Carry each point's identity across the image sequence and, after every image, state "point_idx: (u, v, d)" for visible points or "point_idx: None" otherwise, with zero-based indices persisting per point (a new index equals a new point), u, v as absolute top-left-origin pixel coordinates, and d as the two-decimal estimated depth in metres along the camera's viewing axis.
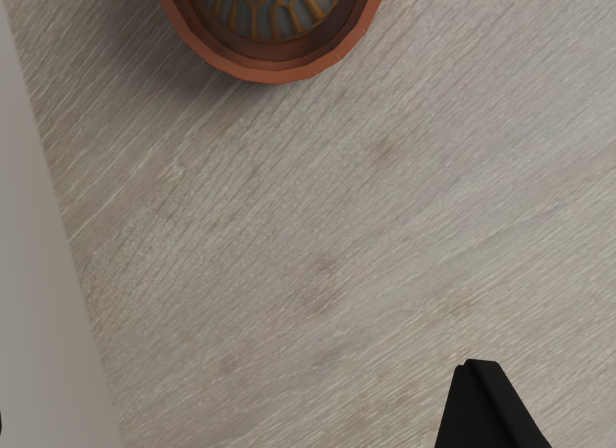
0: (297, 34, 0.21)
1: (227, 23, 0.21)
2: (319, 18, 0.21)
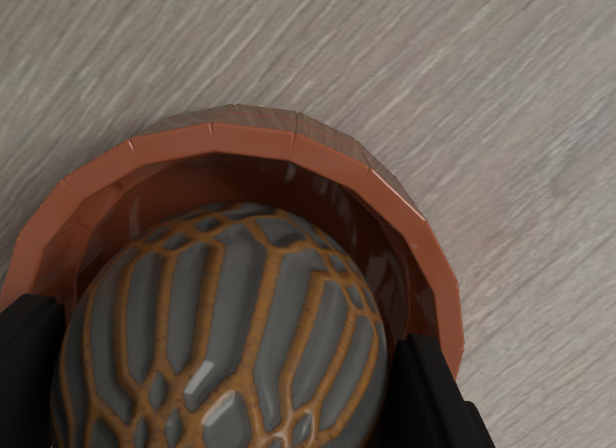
0: None
1: None
2: None
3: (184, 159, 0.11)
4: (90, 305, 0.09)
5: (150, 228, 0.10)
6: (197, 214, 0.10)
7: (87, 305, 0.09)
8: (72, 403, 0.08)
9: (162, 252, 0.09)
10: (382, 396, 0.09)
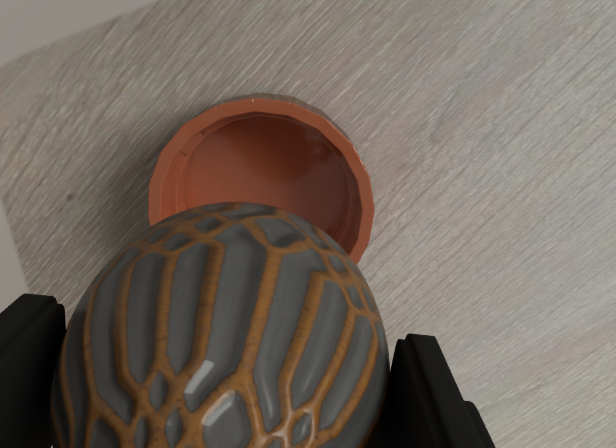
0: None
1: None
2: None
3: (236, 118, 0.23)
4: (90, 305, 0.09)
5: (150, 228, 0.10)
6: (197, 214, 0.10)
7: (87, 305, 0.09)
8: (73, 403, 0.08)
9: (162, 251, 0.09)
10: (382, 396, 0.09)
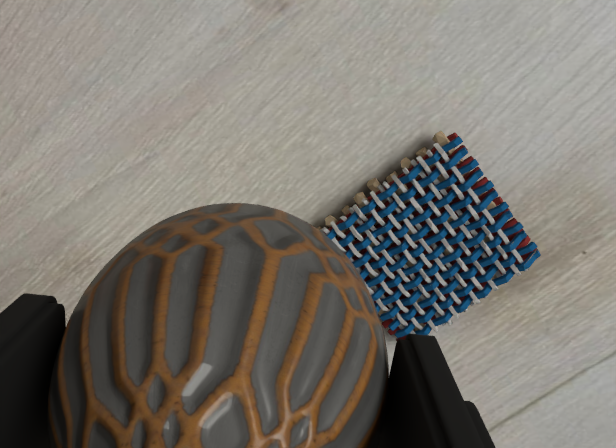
0: None
1: None
2: None
3: None
4: (88, 307, 0.09)
5: (149, 230, 0.10)
6: (195, 216, 0.10)
7: (85, 307, 0.09)
8: (70, 406, 0.08)
9: (160, 254, 0.09)
10: (380, 398, 0.09)
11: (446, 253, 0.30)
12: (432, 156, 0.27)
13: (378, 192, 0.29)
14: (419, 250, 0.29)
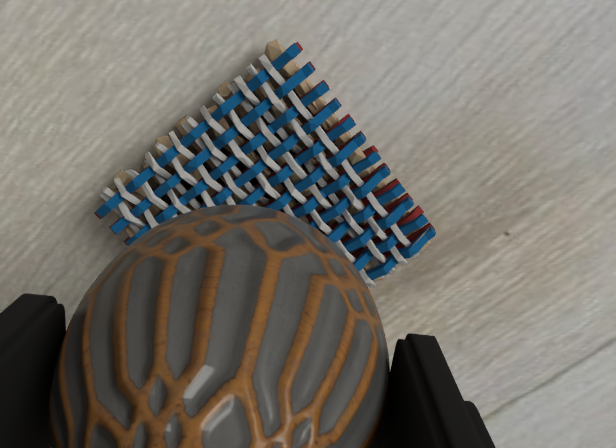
0: None
1: None
2: None
3: None
4: (90, 309, 0.09)
5: (150, 231, 0.10)
6: (197, 217, 0.10)
7: (87, 309, 0.09)
8: (71, 408, 0.08)
9: (162, 255, 0.09)
10: (381, 400, 0.09)
11: None
12: (256, 75, 0.17)
13: None
14: None
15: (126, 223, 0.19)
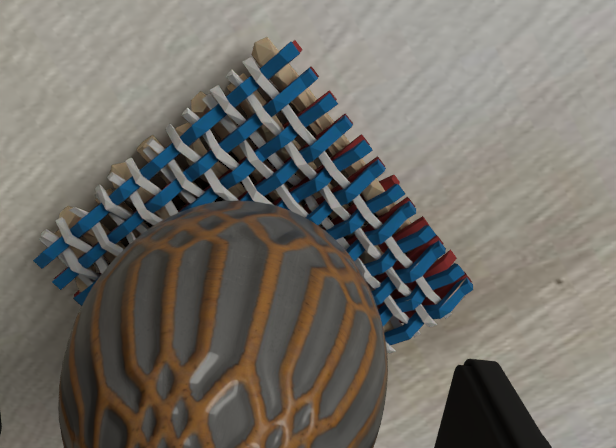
0: None
1: None
2: None
3: None
4: (98, 300, 0.09)
5: (155, 226, 0.11)
6: (200, 213, 0.10)
7: (95, 300, 0.09)
8: (82, 394, 0.08)
9: (167, 249, 0.09)
10: (379, 388, 0.09)
11: None
12: (240, 85, 0.13)
13: None
14: None
15: (73, 275, 0.15)
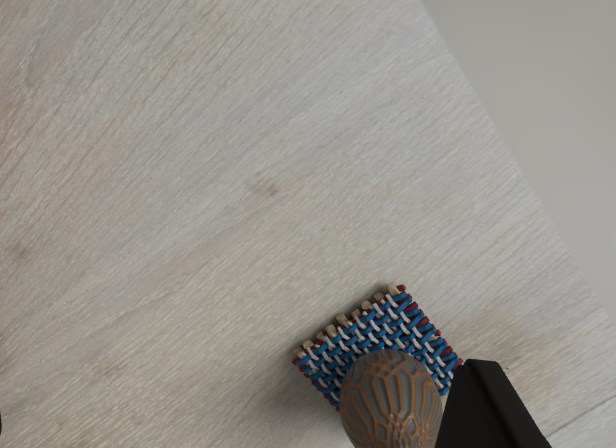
0: None
1: None
2: None
3: None
4: (362, 392, 0.32)
5: (367, 364, 0.33)
6: (383, 361, 0.33)
7: (361, 392, 0.32)
8: (365, 419, 0.31)
9: (381, 377, 0.32)
10: (441, 417, 0.32)
11: None
12: (384, 304, 0.36)
13: (344, 326, 0.37)
14: None
15: (311, 369, 0.37)
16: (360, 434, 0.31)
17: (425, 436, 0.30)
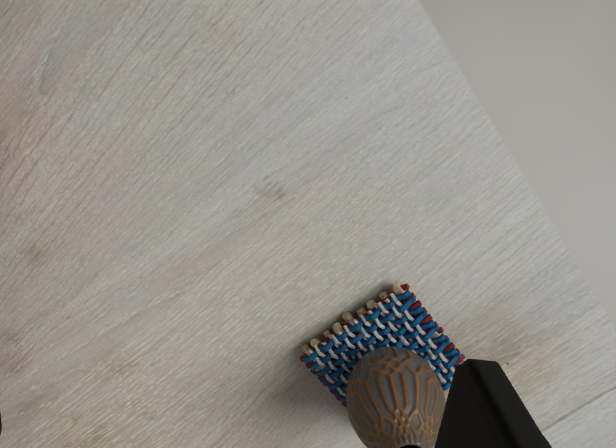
0: (412, 447, 0.35)
1: None
2: None
3: None
4: (368, 389, 0.33)
5: (373, 362, 0.34)
6: (389, 358, 0.34)
7: (367, 388, 0.33)
8: (372, 415, 0.32)
9: (387, 374, 0.33)
10: None
11: None
12: (389, 303, 0.37)
13: (350, 324, 0.38)
14: None
15: (318, 366, 0.39)
16: (367, 429, 0.32)
17: (429, 431, 0.31)
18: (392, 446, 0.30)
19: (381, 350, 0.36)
